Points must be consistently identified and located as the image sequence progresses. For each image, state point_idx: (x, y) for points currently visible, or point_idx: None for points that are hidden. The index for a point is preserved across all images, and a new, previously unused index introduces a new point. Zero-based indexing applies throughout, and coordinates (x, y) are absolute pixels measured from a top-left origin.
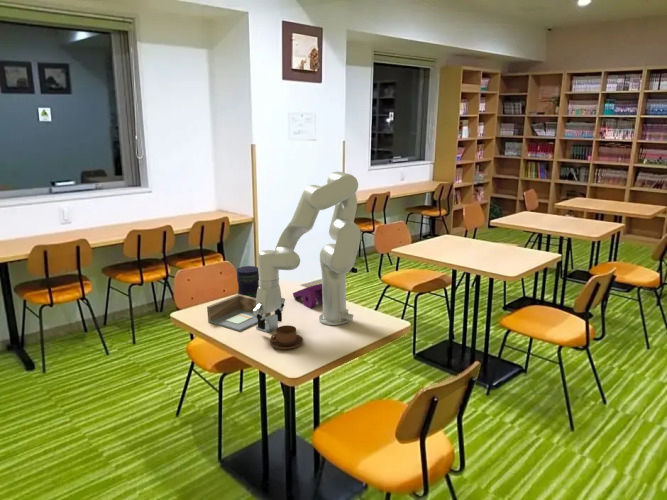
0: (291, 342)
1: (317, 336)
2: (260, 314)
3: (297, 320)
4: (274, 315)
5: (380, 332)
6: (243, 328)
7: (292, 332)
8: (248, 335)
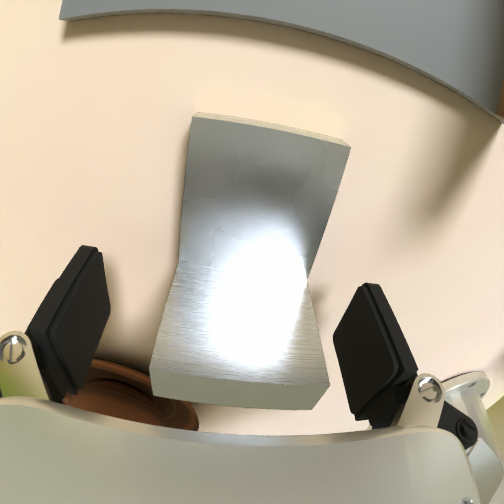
0: None
1: (264, 435)
2: (45, 399)
3: (448, 320)
4: (272, 404)
5: None
6: (111, 11)
7: None
8: (49, 149)
